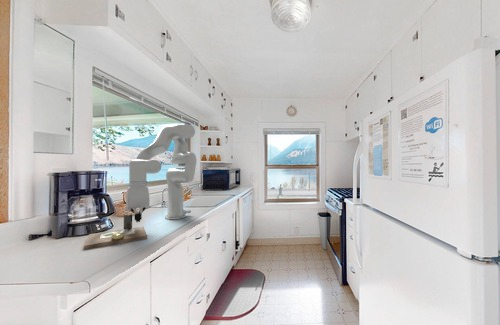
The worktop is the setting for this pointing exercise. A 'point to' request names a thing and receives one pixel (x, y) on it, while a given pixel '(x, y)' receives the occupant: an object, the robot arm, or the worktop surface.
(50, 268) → the worktop surface
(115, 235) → the tuner lever
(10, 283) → the worktop surface
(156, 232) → the worktop surface
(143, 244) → the worktop surface
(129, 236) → the board
